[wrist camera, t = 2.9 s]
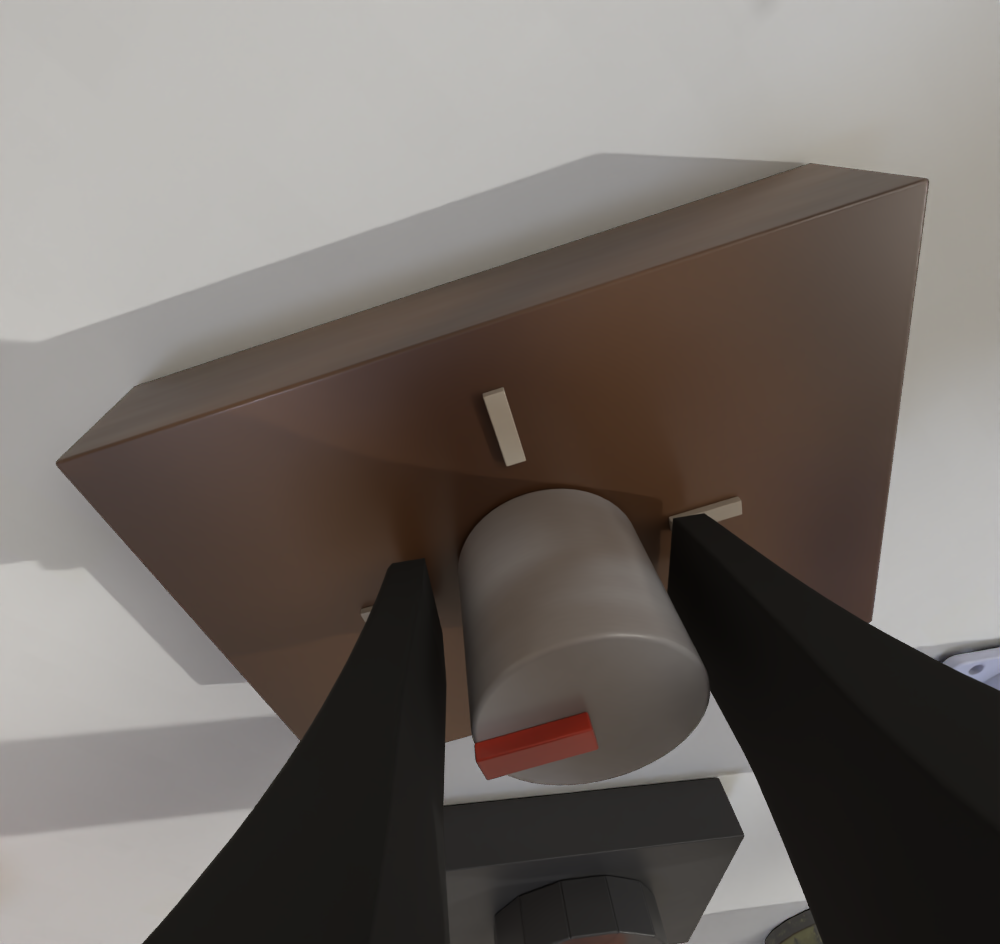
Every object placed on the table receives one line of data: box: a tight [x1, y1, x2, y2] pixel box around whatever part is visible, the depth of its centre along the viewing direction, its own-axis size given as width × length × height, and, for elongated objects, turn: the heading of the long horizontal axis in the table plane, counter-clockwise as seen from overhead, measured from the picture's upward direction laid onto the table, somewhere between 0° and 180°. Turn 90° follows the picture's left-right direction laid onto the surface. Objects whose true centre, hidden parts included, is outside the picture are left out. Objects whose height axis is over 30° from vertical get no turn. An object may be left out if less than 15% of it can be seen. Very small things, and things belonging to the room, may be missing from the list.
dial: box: [458, 488, 710, 785], centre depth 10 cm, size 4×4×4 cm
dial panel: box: [56, 163, 929, 743], centre depth 12 cm, size 14×10×3 cm
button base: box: [443, 778, 744, 944], centre depth 23 cm, size 12×10×4 cm
